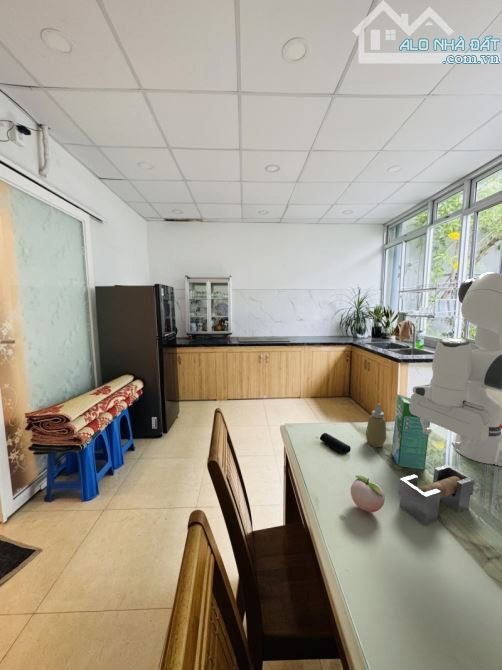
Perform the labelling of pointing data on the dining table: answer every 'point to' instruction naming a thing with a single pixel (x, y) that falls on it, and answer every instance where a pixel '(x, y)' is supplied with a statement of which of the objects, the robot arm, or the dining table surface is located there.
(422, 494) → the bracket
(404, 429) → the milk carton
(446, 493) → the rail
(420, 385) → the robot arm
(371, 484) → the decorative fruit
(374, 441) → the squeeze bottle
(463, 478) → the bracket
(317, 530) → the dining table surface
